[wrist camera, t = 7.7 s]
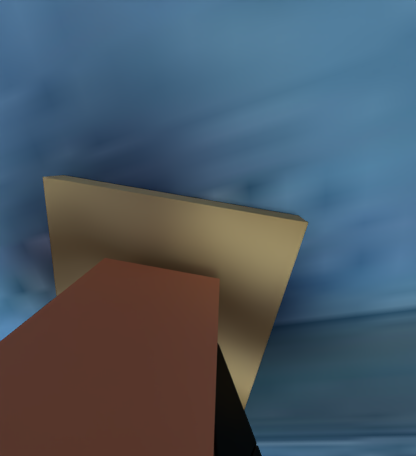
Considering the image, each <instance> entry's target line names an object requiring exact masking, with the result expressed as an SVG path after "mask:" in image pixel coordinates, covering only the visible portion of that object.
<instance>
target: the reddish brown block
mask: <svg viewBox="0 0 416 456" xmlns="http://www.w3.org/2000/svg"><path fill="white" fill-rule="evenodd" d="M219 286H220V279H218V278H213V277H207V276H202V275H196V274H191V273H185V272H180V271H174V270H169V269H164V268H158V267H153V266H147V265H142V264H136V263H131V262H125V261H120V260H114V259H109V258H104V259H103V260H102V261H100V262H99V263H98V264H97V265H95V266H94V267H93V268H92V269H90V270H89V271H88V272H87V273H85V274H84V275H83V276H82V277H80V278H79V279H78V280H77V281H75V282H74V283H73V284H72V285H70V286H69V287H68V288H67V289H65V290H64V291H63V292H62V293H60V294H59V295H58V296H57V297H55V298H54V299H53V300H52V301H50V302H49V303H48V304H47V305H45V306H44V307H43V308H42V309H40V310H39V311H38V312H37V313H35V314H34V315H33V316H32V317H30V318H29V319H28V320H27V321H25V322H24V323H23V324H22V325H20V326H19V327H18V328H17V329H15V330H14V331H13V332H12V333H10V334H9V335H8V336H7V337H5V338H4V339H3V340H2V341H0V456H213V452H214V424H215V397H216V369H217V342H218V314H219Z"/></svg>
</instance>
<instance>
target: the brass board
mask: <svg viewBox="0 0 416 456" xmlns="http://www.w3.org/2000/svg"><path fill="white" fill-rule="evenodd" d="M43 183H44V192H45V201H46V210H47V218H48V227H49V236H50V244H51V253H52V262H53V270H54V279H55V288H56V296H58V295H59V294H60V293H62V292H63V291H64V290H65V289H67V288H68V287H69V286H70V285H72V284H73V283H74V282H75V281H77V280H78V279H79V278H80V277H82V276H83V275H84V274H85V273H87V272H88V271H89V270H90V269H92V268H93V267H94V266H95V265H97V264H98V263H99V262H100V261H102V260H103V259H104V258H109V259H114V260H120V261H125V262H131V263H136V264H142V265H147V266H153V267H158V268H164V269H169V270H174V271H180V272H185V273H191V274H196V275H202V276H207V277H213V278H218V279H220V286H219V314H218V342H217V343H218V344H219V345H220V348H221V351H222V353H223V356H224V359H225V361H226V364H227V366H228V369H229V372H230V374H231V377H232V380H233V382H234V385H235V387H236V390H237V393H238V395H239V398H240V401H241V403H242V406H243V408H244V409H245V406H246V403H247V400H248V397H249V394H250V391H251V388H252V385H253V382H254V380H255V377H256V374H257V371H258V368H259V365H260V362H261V359H262V356H263V353H264V350H265V347H266V345H267V342H268V339H269V336H270V333H271V330H272V327H273V324H274V321H275V318H276V315H277V312H278V310H279V307H280V304H281V301H282V298H283V295H284V292H285V289H286V286H287V283H288V280H289V277H290V275H291V272H292V269H293V266H294V263H295V260H296V257H297V254H298V251H299V248H300V245H301V242H302V239H303V237H304V234H305V231H306V228H307V225H308V222H307V221H305V220H304V219H302V218H301V217H300V216H298V215H292V214H286V213H280V212H275V211H269V210H263V209H257V208H251V207H246V206H240V205H234V204H228V203H222V202H216V201H211V200H205V199H199V198H193V197H187V196H182V195H176V194H170V193H164V192H158V191H152V190H147V189H141V188H135V187H129V186H123V185H118V184H112V183H106V182H100V181H94V180H89V179H83V178H77V177H71V176H65V175H59V176H47V177H43Z"/></svg>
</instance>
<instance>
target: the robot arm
mask: <svg viewBox="0 0 416 456" xmlns="http://www.w3.org/2000/svg"><path fill="white" fill-rule="evenodd" d="M213 456H262V455H261V453H260V450H259V448H258V446H257V445H256V440H255V437H254V435H253V432H252V429H251V427H250V424H249V422H248V419H247V416H246V414H245V411H244V408H243V406H242V403H241V401H240V398H239V395H238V393H237V390H236V387H235V385H234V382H233V380H232V377H231V374H230V372H229V369H228V366H227V364H226V361H225V359H224V356H223V353H222V351H221V348H220V345H219V344H218V343H217V369H216V397H215V424H214V452H213Z"/></svg>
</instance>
